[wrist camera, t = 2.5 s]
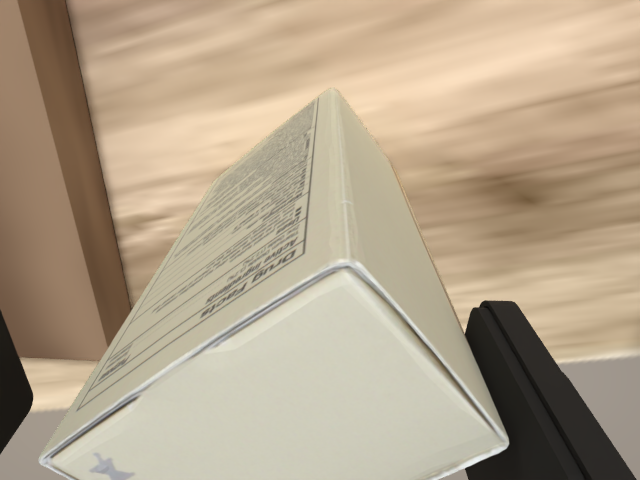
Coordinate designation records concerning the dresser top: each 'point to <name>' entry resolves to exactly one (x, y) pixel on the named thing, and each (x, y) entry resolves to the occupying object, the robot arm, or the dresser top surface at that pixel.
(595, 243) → the dresser top surface
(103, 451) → the skincare box
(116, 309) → the notched board
